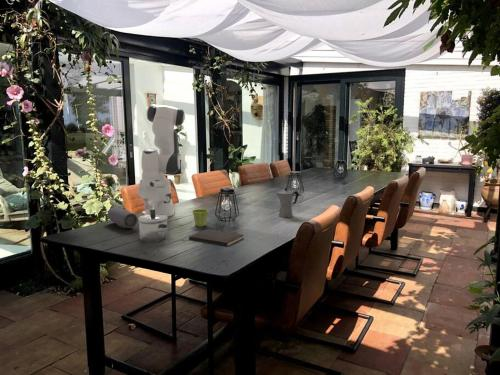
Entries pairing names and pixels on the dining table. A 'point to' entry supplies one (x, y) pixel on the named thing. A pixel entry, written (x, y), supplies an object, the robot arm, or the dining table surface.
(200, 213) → the plant pot
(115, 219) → the bluetooth speaker
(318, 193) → the dining table surface
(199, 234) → the hardcover book
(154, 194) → the robot arm
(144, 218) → the lid
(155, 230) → the cooker
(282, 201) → the coffeepot
